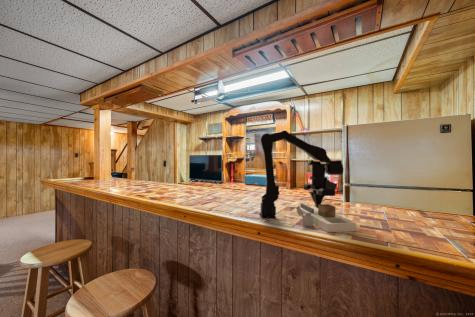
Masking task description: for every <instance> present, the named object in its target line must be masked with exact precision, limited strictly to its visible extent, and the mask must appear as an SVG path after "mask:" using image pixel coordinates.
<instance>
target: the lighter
mask: <svg viewBox="0 0 475 317" xmlns="http://www.w3.org/2000/svg"><path fill="white" fill-rule="evenodd" d="M295 210H296V212H297V211H298V213H297V214H298V216H299V217H302V226H303V227H304V226H306V227H314V223H313V215H311V213H307V212H306V214H303V213H302V211H301V209H300V205H298V204H297V205H296V206H295ZM301 215H303V216H301Z"/></svg>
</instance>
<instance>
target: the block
mask: <svg viewBox="0 0 475 317" xmlns="http://www.w3.org/2000/svg"><path fill="white" fill-rule="evenodd" d="M336 208H337V207H336V206H335V205H332V204H329V203H327V204H326V203H324V204H323V203H321V204H318V215H320V216H322V217H324V218H333V217H335V214H336Z"/></svg>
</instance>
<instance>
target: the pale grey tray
mask: <svg viewBox="0 0 475 317" xmlns="http://www.w3.org/2000/svg"><path fill="white" fill-rule="evenodd" d="M299 204H300V205H299V207H300V209H301V211H302V213H303V214H306V212H307V213H311V215H313V225H316V226H317V227H319V228H320V229H322V230H323V231H324V232H326V233H337V232H338V233H340V232H341V233H342V232H356V231H357V223H356V222H355V221H352V220H350V219H348V218H346V217H343V216H341V215H339V214H337V213H335V217H333V218H324V217H322V216H320V215H318V208H317V207H316V205H315V204H314V206H308V205H307V204H305V203H299ZM296 213H297V214H298V211H297V210H296ZM300 217H303V215H301V216H300Z"/></svg>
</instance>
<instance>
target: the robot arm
mask: <svg viewBox="0 0 475 317" xmlns="http://www.w3.org/2000/svg"><path fill="white" fill-rule="evenodd" d="M279 141H285V142H286V143H289V144H290V145H293V146H294V147H295V148H298V149H299V150H301V151H303V152H304V153H306V155H307V156H309V158H311V160H310V161H308V162H307V165H309V166H311V176H309V179H311V183H305V184H304V185H303V190H305V191H308V190H310V191H308V193H309V195H310V197H311V199H312V201H313V202H314V206H315V205H316V207H317V208H318V204H322V202H323V200H324V197H335V196H336V189H337V187H338V183H336V182H335V183H334V182H333V181H331V180H330V179H328V176H327V177H326V173H327V175H329V176H342V175H343V173H344V166H343V163H342V160H331V159H330V157H329V155H327V153H328V152H327V150H326V149H325V148H323V147H320V146H317V145H314V144H310V143H309V142H306V141H304V140H303V139H301V138H300V137H299V138H298V136H295V135H294V134H291V133H290V132H288V131H287V130H282V131H280V132H278V131H277V132H275V133H274V132H273V133H264V134H262V136H261V137H260V145H261V148H262V151H263V156H264V166H265V175H266V176H265V177H266V185H265V186H266V188H265V193H264V195H262V196H261V202H260V213H259V215H260V217H261V218H263V219H269V218H272V219H275V218H276V217H277V216H276V214H277V211H276V210H277V208H276V204H275V202H276V201H278V199H279V195H281V194H280V185H279V184H277V183H276V182H275V173H274V163H273V162H274V161H273V145H274V143H276V142H279Z"/></svg>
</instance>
